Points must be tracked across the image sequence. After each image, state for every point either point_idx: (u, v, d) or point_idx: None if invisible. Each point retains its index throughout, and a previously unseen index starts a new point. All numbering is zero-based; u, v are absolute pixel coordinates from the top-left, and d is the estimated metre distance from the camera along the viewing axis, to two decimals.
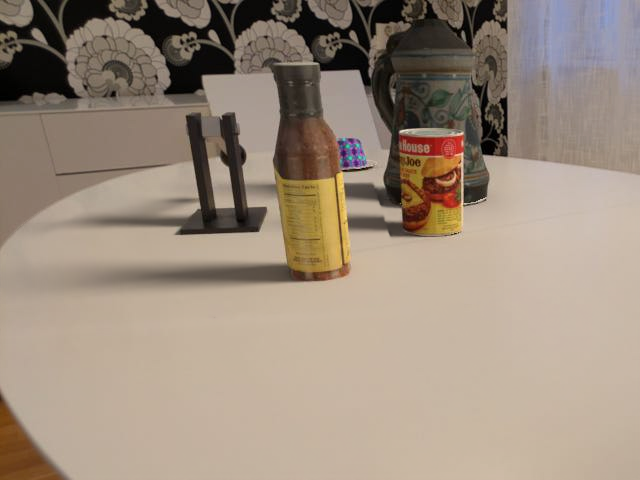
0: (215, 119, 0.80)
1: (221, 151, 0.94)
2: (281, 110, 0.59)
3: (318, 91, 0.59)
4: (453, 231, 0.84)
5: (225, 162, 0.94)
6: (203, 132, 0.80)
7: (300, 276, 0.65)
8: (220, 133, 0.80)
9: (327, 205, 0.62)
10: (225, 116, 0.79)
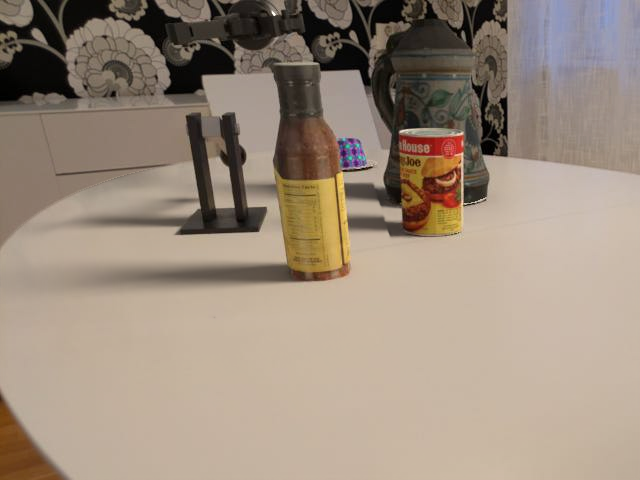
0: (215, 119, 0.80)
1: (221, 151, 0.94)
2: (281, 110, 0.59)
3: (318, 91, 0.59)
4: (453, 231, 0.84)
5: (225, 162, 0.94)
6: (203, 132, 0.80)
7: (300, 276, 0.65)
8: (220, 133, 0.80)
9: (327, 205, 0.62)
10: (225, 116, 0.79)
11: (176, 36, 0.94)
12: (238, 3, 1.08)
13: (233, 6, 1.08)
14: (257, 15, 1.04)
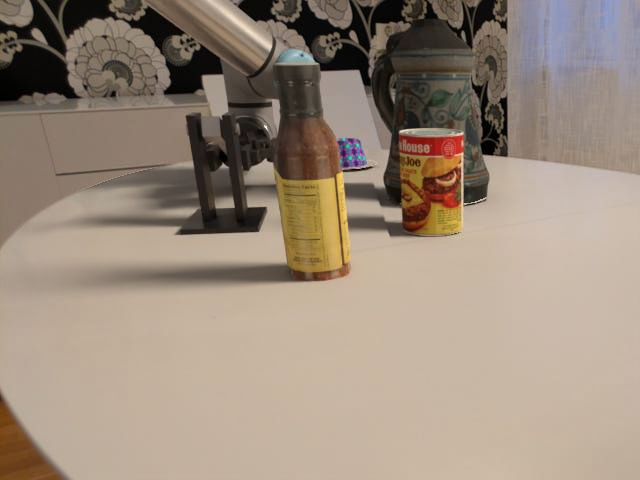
0: (215, 119, 0.80)
1: (221, 151, 0.94)
2: (281, 110, 0.59)
3: (318, 91, 0.59)
4: (453, 231, 0.84)
5: (225, 162, 0.94)
6: (203, 132, 0.80)
7: (300, 276, 0.65)
8: (220, 133, 0.80)
9: (327, 205, 0.62)
10: (225, 116, 0.79)
11: (213, 163, 0.90)
12: None
13: None
14: (247, 137, 1.03)
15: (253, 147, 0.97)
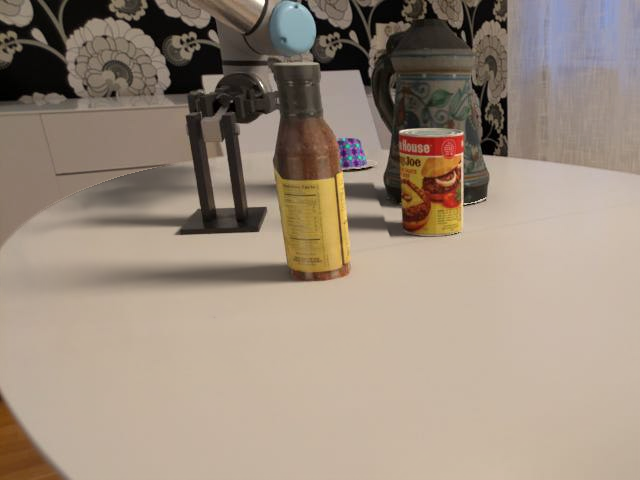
0: (215, 125, 0.80)
1: (215, 106, 0.92)
2: (281, 110, 0.59)
3: (318, 91, 0.59)
4: (453, 231, 0.84)
5: None
6: (204, 138, 0.81)
7: (300, 276, 0.65)
8: (221, 138, 0.81)
9: (327, 205, 0.62)
10: (225, 116, 0.79)
11: (206, 110, 0.88)
12: (229, 76, 1.04)
13: (223, 78, 1.04)
14: (242, 91, 1.00)
15: (247, 97, 0.94)
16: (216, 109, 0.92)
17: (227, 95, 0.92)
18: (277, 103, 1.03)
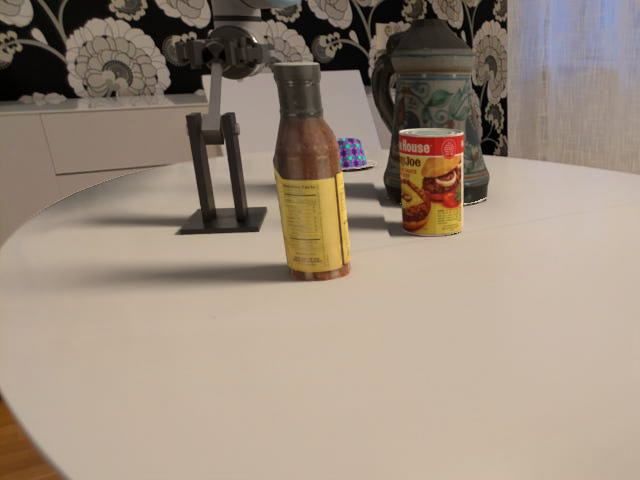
0: (216, 132, 0.80)
1: (205, 60, 0.87)
2: (281, 110, 0.59)
3: (318, 91, 0.59)
4: (453, 231, 0.84)
5: (211, 69, 0.89)
6: (206, 142, 0.81)
7: (300, 276, 0.65)
8: (222, 142, 0.82)
9: (327, 205, 0.62)
10: (225, 116, 0.79)
11: (194, 55, 0.83)
12: (220, 28, 0.99)
13: (214, 31, 0.99)
14: None
15: (238, 45, 0.89)
16: (207, 63, 0.88)
17: (217, 48, 0.87)
18: (270, 56, 0.98)
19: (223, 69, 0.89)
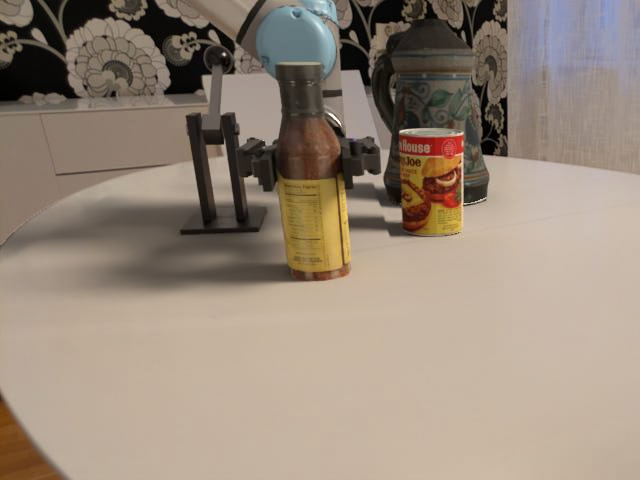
0: (216, 131, 0.80)
1: (206, 62, 0.88)
2: (283, 110, 0.59)
3: (320, 91, 0.59)
4: (453, 231, 0.84)
5: (212, 71, 0.89)
6: (206, 142, 0.81)
7: (300, 276, 0.65)
8: (222, 142, 0.82)
9: (328, 205, 0.62)
10: (225, 116, 0.79)
11: (269, 178, 0.58)
12: None
13: None
14: None
15: (353, 153, 0.65)
16: (207, 65, 0.88)
17: (218, 50, 0.87)
18: None
19: (224, 72, 0.89)
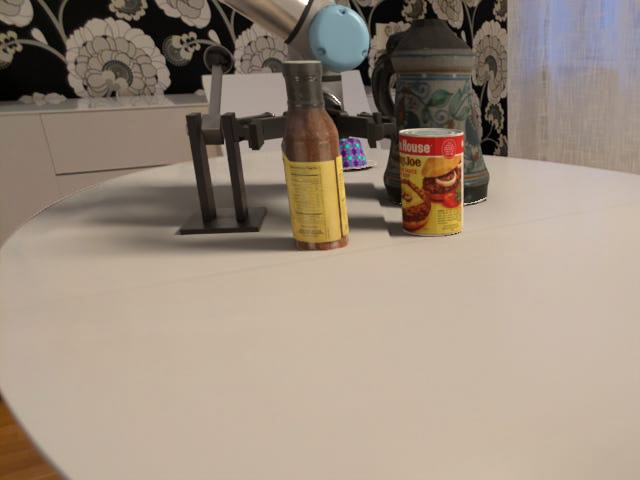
0: (216, 131, 0.80)
1: (206, 62, 0.88)
2: (288, 102, 0.69)
3: (320, 85, 0.69)
4: (453, 231, 0.84)
5: (212, 71, 0.89)
6: (206, 142, 0.81)
7: (305, 246, 0.74)
8: (222, 142, 0.82)
9: (328, 184, 0.72)
10: (225, 116, 0.79)
11: (257, 139, 0.74)
12: None
13: None
14: (335, 113, 0.86)
15: (376, 121, 0.81)
16: (207, 65, 0.88)
17: (218, 50, 0.87)
18: None
19: (224, 72, 0.89)
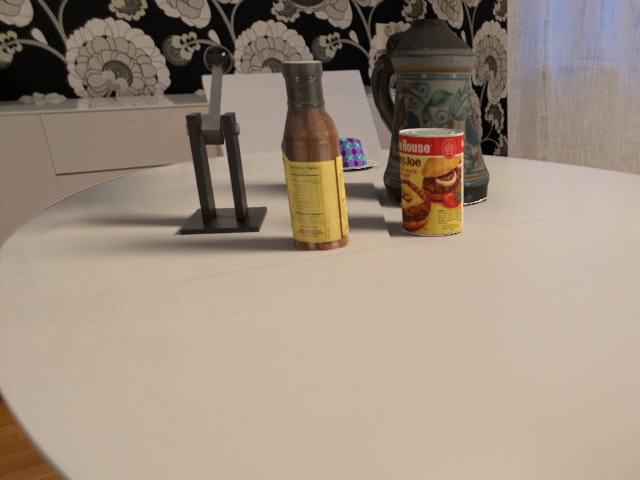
0: (216, 131, 0.80)
1: (206, 62, 0.88)
2: (288, 102, 0.69)
3: (320, 85, 0.69)
4: (453, 231, 0.84)
5: (212, 71, 0.89)
6: (206, 142, 0.81)
7: (305, 246, 0.74)
8: (222, 142, 0.82)
9: (328, 184, 0.72)
10: (225, 116, 0.79)
11: None
12: None
13: None
14: None
15: None
16: (207, 65, 0.88)
17: (218, 50, 0.87)
18: None
19: (224, 72, 0.89)
